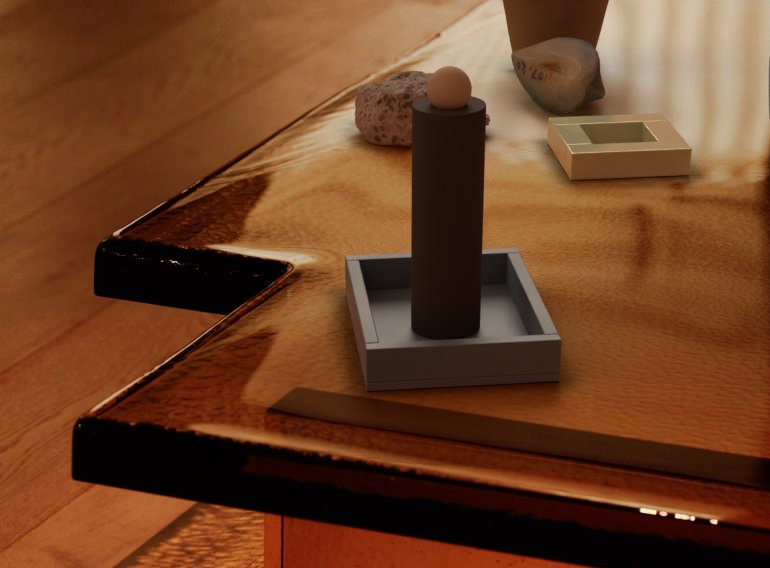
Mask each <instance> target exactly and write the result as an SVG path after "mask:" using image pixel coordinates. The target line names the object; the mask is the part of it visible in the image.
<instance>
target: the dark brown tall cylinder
mask: <svg viewBox="0 0 770 568" xmlns="http://www.w3.org/2000/svg"><path fill="white" fill-rule="evenodd" d="M432 73H433V74H432V76H431V77H430V79H429V81H428V85H427V94H428V96H425V97H422V98H419V99H417V100H415V101H414V102H413V103H412V146H411V212H410V213H411V214H410V215H411V221H410V222H411V223H410V224H411V227H410V228H411V231H410V232H411V235H410V237H411V240H410V241H411V242H410V244H411V246H410V247H411V249H410V251H411V252H410V253H411V328H412V330H413V331H414V332H415V333H417V334H418V335H420V336H423V337H426V338H429V339H435V340H450V339H463V338H467V337H469V336H472V335H474V334H475V333H476V332H478V330H479V329H480V314H481V278H482V249H483V244H484V243H483V239H484V203H485V168H486V167H485V165H486V135H487V133H486V131H487V126H486V114H487V103H486V102H485V100H483V99H481V98H479V97H476V96H473V95H472V92H473V86H472V81H471V79H470V77H469V75H468V74H467V73H466V72H465V71H464V70H463V69H461V68H459V67H457V66H453V65H448V66H447V65H446V66H442V67H440V68H438V69H437V70H435V71H434V72H432Z"/></svg>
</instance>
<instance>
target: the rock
mask: <svg viewBox="0 0 770 568" xmlns="http://www.w3.org/2000/svg"><path fill="white" fill-rule="evenodd" d="M433 73H434V72H424V71H421V70H402V71H399V72H397V73H396V74H391V75H390V76H389V77H388V78H387V79H386V80H382V81H379V82H373V83H371V82H370V83H365V84H361V85H359V86H358V87H357V89H356V93H355V94H356V97H355V99H354V108H355V110H354V117H355V118H354V122H355V123H354V124H355V127H356V128H357V130H358V131H359V132H360V133H361V134H362V135H363V136H364V137H365V140H366V142H368V143H370V144H373V145H377V146H402V147H405V146H411V147H412V103H413V102H414V101H415V100H417V99H419V98H422V97H425V96H428V94H427V85H428V81H429V79H430V77H431V76H432V74H433ZM490 122H491V117H490V115H489V114H488V113H486V127H487V126H489V125H490Z"/></svg>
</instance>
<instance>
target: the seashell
mask: <svg viewBox="0 0 770 568" xmlns="http://www.w3.org/2000/svg"><path fill="white" fill-rule="evenodd" d="M510 58H511V62H512V67H513V70H514V73H515V75H516V77H517V79H518V81H519V83H520V84H521V86H522V88H523V89H524V91H525V92H526V93H527V94H528V95H529V97H530V98H531V99H532V100H533V102H535V103H536V104H537V105H538V106H540V107H541V108H543V109H545V110H547V111H549V112H552V113H554V114H560V115H564V114H569V113H572V112H574V111H576V110H578V109H579V108H581V107H584V106H585V105H587V104H589V103H591V102H595V101H598V100H602V99H603V98H605V97H606V89H605V86H604V82H603V78H602V73H601V60H600V59H601V58H600V55H599V52H598V50H597V48H596V49H595V48H594V47H593V46H592V45H591V44H590V43H588V42H586V41H583V40H581V39H577V38H570V37H559V38H553V39H549V40H546V41H543V42H541V43H538V44H535V45H532V46H529V47H526V48H523V49H520V50H517V51H514V52H512V51H511V55H510Z"/></svg>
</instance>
